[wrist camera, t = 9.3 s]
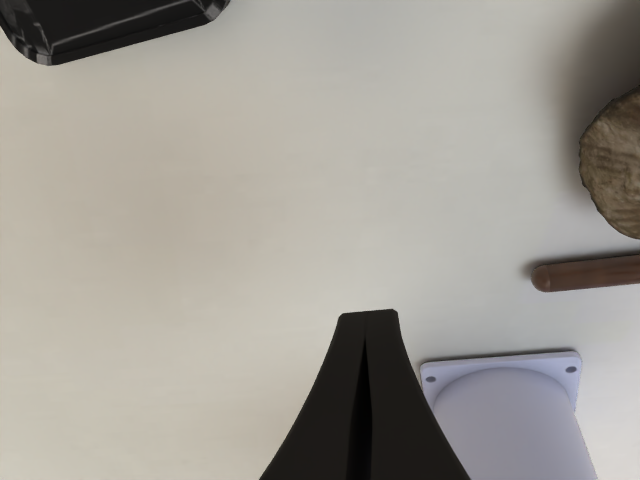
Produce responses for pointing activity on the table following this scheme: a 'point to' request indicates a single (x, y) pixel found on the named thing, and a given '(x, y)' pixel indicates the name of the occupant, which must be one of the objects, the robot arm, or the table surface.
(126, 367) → the table surface
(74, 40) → the phone
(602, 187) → the fossilized seashell
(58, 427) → the table surface
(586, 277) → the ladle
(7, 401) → the table surface
